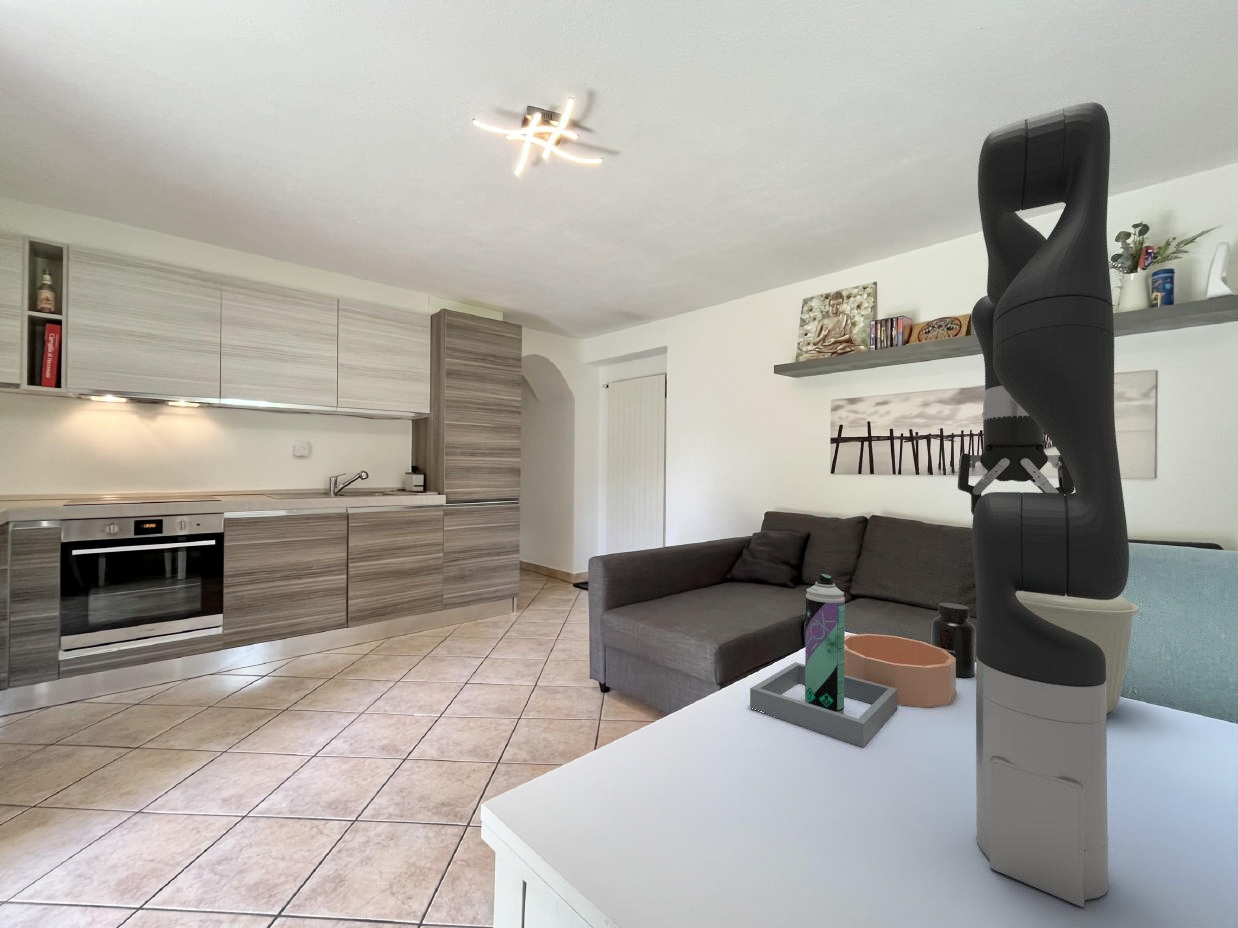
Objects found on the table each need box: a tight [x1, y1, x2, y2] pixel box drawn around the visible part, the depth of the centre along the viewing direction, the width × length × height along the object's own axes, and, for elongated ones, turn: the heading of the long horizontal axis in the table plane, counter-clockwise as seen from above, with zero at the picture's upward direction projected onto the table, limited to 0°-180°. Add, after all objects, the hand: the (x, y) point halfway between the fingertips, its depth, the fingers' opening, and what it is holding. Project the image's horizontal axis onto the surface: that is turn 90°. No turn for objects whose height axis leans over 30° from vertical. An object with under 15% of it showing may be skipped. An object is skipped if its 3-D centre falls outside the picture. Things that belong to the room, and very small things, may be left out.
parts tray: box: [749, 661, 898, 748], centre depth 77 cm, size 16×16×3 cm
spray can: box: [804, 573, 846, 714], centre depth 78 cm, size 6×6×20 cm
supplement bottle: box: [930, 602, 977, 679], centre depth 95 cm, size 7×7×12 cm
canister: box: [1016, 591, 1140, 714], centre depth 82 cm, size 18×18×21 cm
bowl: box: [844, 633, 957, 709], centre depth 87 cm, size 17×17×6 cm
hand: (1012, 520), depth 80 cm, fingers open, 8 cm apart
